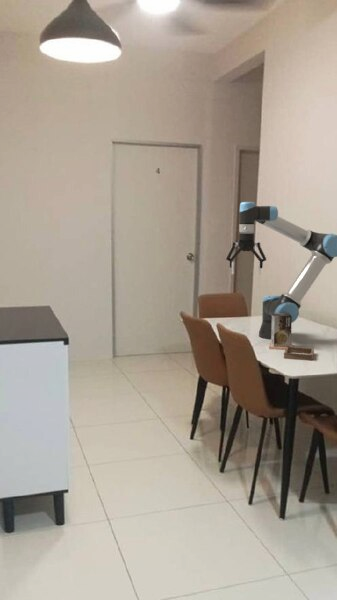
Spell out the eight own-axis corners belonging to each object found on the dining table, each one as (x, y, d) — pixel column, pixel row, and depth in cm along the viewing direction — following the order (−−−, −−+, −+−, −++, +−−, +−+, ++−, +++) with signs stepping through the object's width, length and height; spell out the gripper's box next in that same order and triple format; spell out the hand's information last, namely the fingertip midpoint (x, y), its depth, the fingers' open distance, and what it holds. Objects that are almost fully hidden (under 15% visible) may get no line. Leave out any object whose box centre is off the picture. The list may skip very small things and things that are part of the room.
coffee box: (288, 343, 268) (289, 312, 266) (291, 346, 262) (292, 315, 259) (270, 343, 268) (271, 313, 265) (273, 346, 262) (274, 315, 259)
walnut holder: (286, 351, 256) (286, 346, 255) (313, 353, 252) (313, 348, 252) (283, 358, 244) (284, 353, 243) (312, 360, 240) (312, 355, 239)
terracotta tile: (271, 343, 272) (271, 341, 272) (292, 345, 268) (292, 343, 268) (268, 348, 261) (268, 346, 261) (291, 350, 258) (291, 348, 258)
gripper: (221, 232, 263) (220, 274, 266) (270, 233, 255) (269, 275, 259) (224, 232, 270) (223, 272, 273) (272, 232, 262) (271, 274, 266)
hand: (245, 274), depth 266 cm, fingers open, 13 cm apart
